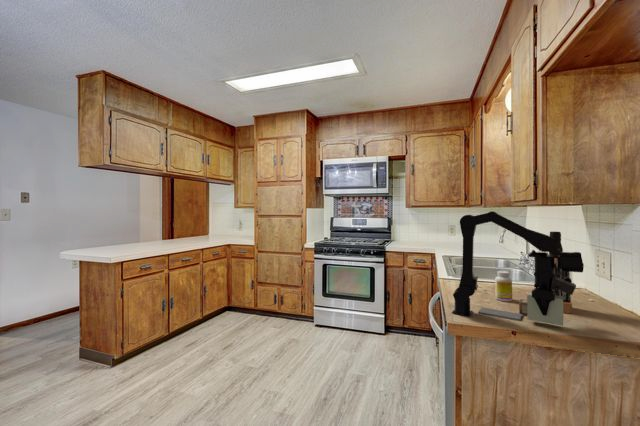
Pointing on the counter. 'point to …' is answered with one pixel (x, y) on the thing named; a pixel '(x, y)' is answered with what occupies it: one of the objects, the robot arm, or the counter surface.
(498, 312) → the charcoal mat
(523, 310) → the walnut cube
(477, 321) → the counter surface
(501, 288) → the supplement bottle
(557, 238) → the whiskey bottle
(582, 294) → the counter surface
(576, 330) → the counter surface
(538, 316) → the grey-green rectangular block
